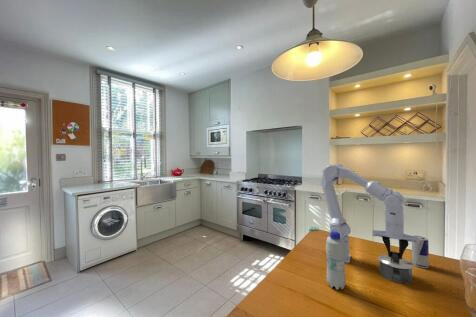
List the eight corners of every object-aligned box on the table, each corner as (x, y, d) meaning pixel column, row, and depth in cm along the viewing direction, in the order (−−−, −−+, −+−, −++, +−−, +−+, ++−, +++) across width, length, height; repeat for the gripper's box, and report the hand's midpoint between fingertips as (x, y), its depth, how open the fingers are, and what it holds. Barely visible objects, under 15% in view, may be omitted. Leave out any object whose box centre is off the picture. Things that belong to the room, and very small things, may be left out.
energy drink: (432, 269, 84) (431, 240, 84) (417, 268, 85) (416, 239, 85) (423, 262, 89) (422, 235, 89) (409, 261, 91) (408, 235, 90)
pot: (380, 280, 77) (380, 267, 77) (379, 264, 89) (378, 253, 89) (414, 289, 72) (414, 275, 72) (408, 271, 83) (408, 259, 83)
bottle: (338, 294, 70) (337, 236, 70) (322, 283, 76) (321, 230, 76) (350, 288, 73) (349, 233, 73) (334, 278, 79) (333, 227, 79)
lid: (377, 263, 79) (377, 253, 79) (378, 254, 87) (378, 245, 88) (414, 272, 72) (414, 261, 72) (412, 261, 81) (411, 251, 81)
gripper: (372, 222, 81) (373, 256, 81) (420, 229, 73) (421, 266, 73) (372, 218, 87) (372, 249, 87) (416, 223, 79) (417, 258, 79)
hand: (394, 257), depth 80 cm, fingers closed on lid, 3 cm apart
